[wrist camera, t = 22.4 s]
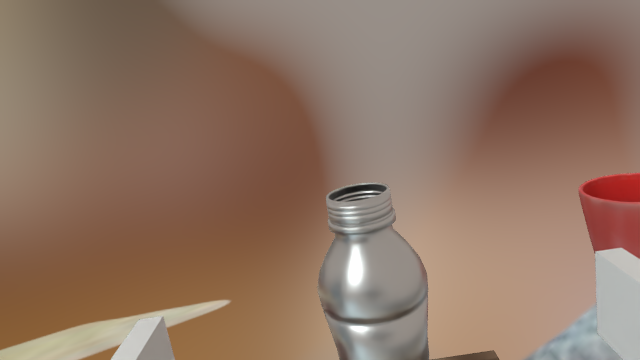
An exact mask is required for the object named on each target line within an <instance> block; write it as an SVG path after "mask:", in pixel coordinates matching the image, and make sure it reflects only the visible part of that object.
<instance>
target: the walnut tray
mask: <svg viewBox="0 0 640 360" xmlns="http://www.w3.org/2000/svg"><path fill="white" fill-rule="evenodd" d="M432 360H499V358H498V357H497V355H496V353H495V352H494V351H487V352H480V353H473V354H467V355H459V356H453V357H446V358H439V359H432Z"/></svg>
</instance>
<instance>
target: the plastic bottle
mask: <svg viewBox="0 0 640 360" xmlns="http://www.w3.org/2000/svg"><path fill="white" fill-rule="evenodd" d="M326 199H327V200H326V203H327V208H328V214H329V219H328V224H329V229H330V231H331V232H333V233H335V239H334V240H333V242H332V244H331V246H330V248H329V250H328V252H327V254H326V256H325V258H324V261H323V264H322V266H321V269H320V272H319V279H318V294H319V297H320V301H321V305H322V307H323V310H324V313H325V316H326V319H327V322H328V325H329V328H330V330H331V333H332V336H333V339H334V342H335V344H336V347H337V351H338V355H339V359H340V360H429V349H428V338H427V320H428V282H427V273H426V270H425V268H424V265H423V263H422V261H421V259H420V257H419V256H418V254H417V253H416V252H415V250H414V249H413V248H412V247H411V246H410V245H409V243H408V242H407V241H406V240H405V239H404V238H403V237H402V236H401V235H400V234H399V233H398V232H397V231H395V230H394V229H393V227H392V224H393V223H394V222H395V220H396V216H395V210H394V208H393V207H392V201H391V194H390V190H389V186H388V185H386V184H383V183H373V182H371V183H360V184H353V185H348V186H344V187H341V188H338V189H336V190H334V191H332V192H330V193H329V194H328V195H327V196H326Z"/></svg>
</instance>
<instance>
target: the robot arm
mask: <svg viewBox="0 0 640 360" xmlns="http://www.w3.org/2000/svg"><path fill="white" fill-rule="evenodd" d="M595 262H596V263H595V264H596V301H597V334H598V335H599V336H600V337H601V338H602V339H603V340H604V341H605V342H606V343H607V344H608V345H609V346H610V347H611V348H612V349H613V350H614V351H615V352H616V353H617V354H618V355H619V356H620V357H621V358H622V359H623V360H640V259H639V258H637V257H636V256H634V255H632V254H631V253H629V252H628V251H626V250H624V249H623V248H615V249H609V250H602V251H595ZM111 360H175V358H174V355H173V351H172V347H171V344H170V340H169V336H168V333H167V329H166V325H165V322H164V318H163V316H159V317H152V318H146V319H139V320H138V321H137V323H136V324H135V326H134V327H133V328H132V330H131V331H130V333H129V334H128V336H127V337H126V338H125V340H124V341H123V343H122V344H121V345H120V347H119V348H118V350H117V351H116V353H115V354H114V355H113V357H112V359H111Z"/></svg>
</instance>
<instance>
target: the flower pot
mask: <svg viewBox="0 0 640 360" xmlns="http://www.w3.org/2000/svg"><path fill="white" fill-rule="evenodd" d="M579 196H580V200H581V205H582V209H583V213H584V216H585V220H586V224H587V228H588V232H589V235H590V239H591V242H592V246H593V249H594V253H595V251H602V250H609V249H615V248H623V249H624V250H626V251H628V252H629V253H631V254H632V255H634V256H636V257H637V258H639V259H640V173H626V174H615V175H608V176H603V177H598V178H595V179H591V180H589V181H587V182H585V183H583V184H582V185H581V186H580V187H579Z"/></svg>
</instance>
